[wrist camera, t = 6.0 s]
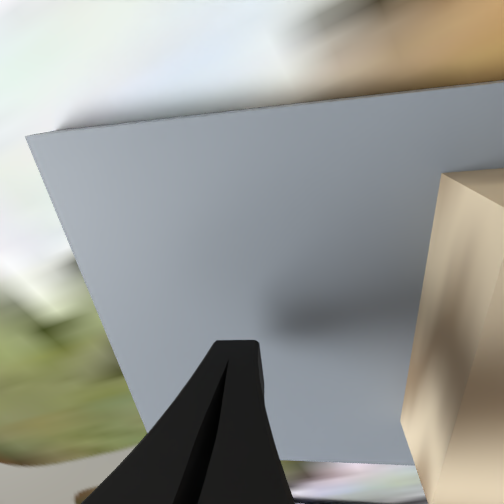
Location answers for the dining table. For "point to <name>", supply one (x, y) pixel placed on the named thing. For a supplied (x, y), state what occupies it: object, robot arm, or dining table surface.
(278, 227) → the board
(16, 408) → the dining table surface
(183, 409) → the robot arm
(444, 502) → the t block
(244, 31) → the dining table surface
